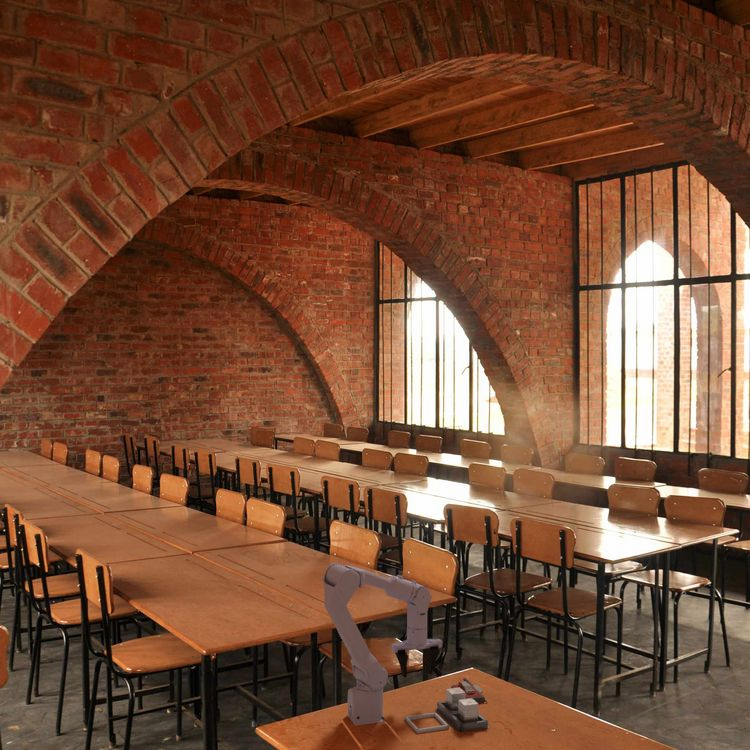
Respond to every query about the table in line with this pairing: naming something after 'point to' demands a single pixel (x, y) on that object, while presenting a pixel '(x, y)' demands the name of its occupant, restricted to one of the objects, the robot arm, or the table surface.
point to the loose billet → (467, 710)
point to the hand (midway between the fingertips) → (416, 674)
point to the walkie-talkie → (471, 691)
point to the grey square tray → (444, 726)
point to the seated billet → (454, 698)
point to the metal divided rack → (453, 720)
